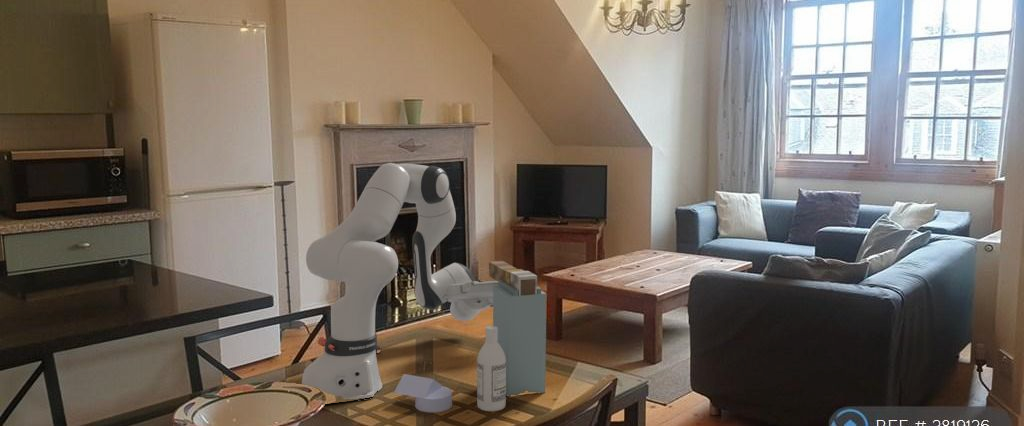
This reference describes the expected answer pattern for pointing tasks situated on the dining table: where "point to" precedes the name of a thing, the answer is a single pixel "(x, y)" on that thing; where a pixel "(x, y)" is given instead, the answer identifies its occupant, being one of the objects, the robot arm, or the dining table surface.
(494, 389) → the bath foam
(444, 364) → the dining table surface
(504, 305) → the pale blue tall block
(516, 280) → the patterned long box
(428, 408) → the wedge on round base
